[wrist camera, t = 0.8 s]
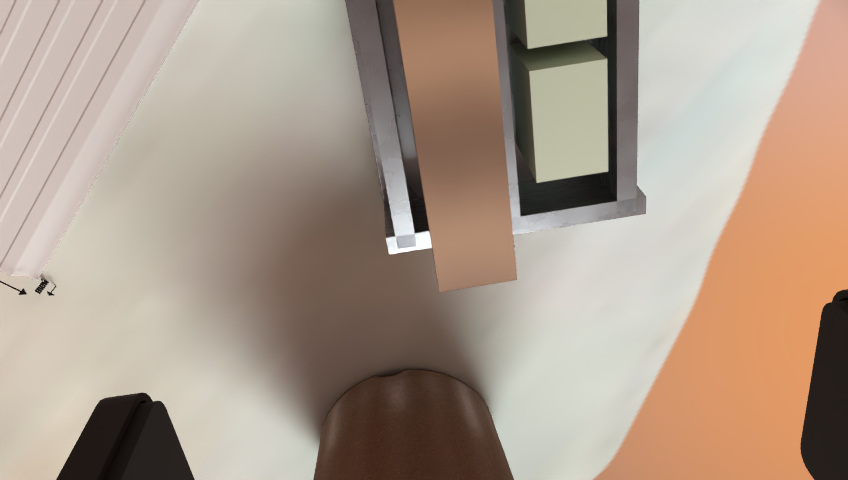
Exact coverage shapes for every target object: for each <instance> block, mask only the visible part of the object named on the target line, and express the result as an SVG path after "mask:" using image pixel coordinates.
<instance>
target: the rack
mask: <svg viewBox="0 0 848 480" xmlns="http://www.w3.org/2000/svg"><path fill="white" fill-rule="evenodd" d="M345 1H346V6H347V11H348V17H349V22H350V27H351V32H352V38H353V43H354V48H355V53H356V59H357V64H358V69H359V74H360V80H361V85H362V90H363V95H364V101H365V106H366V111H367V116H368V122H369V127H370V132H371V137H372V143H373V148H374V153H375V158H376V164H377V169H378V174H379V179H380V185H381V190H382V195H383V200H384V211H385V232H386V242H387V247H388V252H389V255H390V254H396V253H402V252H409V251H415V250H421V249H427V248H432V244H431V238H430V232H429V226H428V220H427V214H426V208H425V202H424V196H423V190H422V183H421V177H420V171H419V165H418V159H417V153H416V147H415V140H414V134H413V128H412V121H411V115H410V109H409V102H408V96H407V90H406V83H405V77H404V71H403V64H402V58H401V52H400V45H399V39H398V33H397V26H396V20H395V13H394V7H393V1H392V0H345ZM492 3H493V14H494V26H495V37H496V48H497V60H498V71H499V82H500V93H501V105H502V116H503V127H504V139H505V150H506V161H507V173H508V184H509V195H510V207H511V218H512V229H513V235H515V234H522V233H528V232H534V231H541V230H547V229H553V228H559V227H566V226H572V225H578V224H585V223H591V222H597V221H603V220H610V219H616V218H622V217H628V216H635V215H641V214H646V196H645V195H644V193H643V192H642V191H641V190H640V189H639V187H638V186H637V123H638V50H639V0H607V36H605V37H599V38H593V39H587V40H586V41H587V42H588V43H589V44H590V45H591V46H593V47H594V48H595V49H596V50H597V51H599V52H600V53H601V54H602V55H603V56H605V57H606V58H607V84H608V172H601V173H595V174H589V175H583V176H576V177H570V178H564V179H558V180H551V181H545V182H539V183H536V181H535V179H534V177H533V175H532V173H531V171H530V169H529V167H528V165H527V163H526V161H525V159H524V157H523V156H522V154H521V152H520V150H519V148H518V146H517V138H516V126H515V113H514V100H513V88H512V75H511V62H510V50H509V44H515V43H522V41H521V40H520V39H519V38H518V37H517V35H516V34H515V33H514V32H513V31H512V29H511V28H510V27H509V26H508V24H507V12H506V0H492Z"/></svg>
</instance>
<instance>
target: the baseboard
mask: <svg viewBox="0 0 848 480" xmlns="http://www.w3.org/2000/svg"><path fill="white" fill-rule="evenodd" d="M198 2H199V0H0V271H1V272H3V273H5V274H7V275H10V276H26V277H29V278H31V279H33V280H35V281H37V280H38V278H39V277H40V275H41V274H42V272H43V270H44V268H45V267H46V265H47V263H48V261H49V260H50V258H51V256H52V254H53V253H54V251H55V249H56V248H57V246H58V244H59V242H60V241H61V239H62V237H63V235H64V234H65V232H66V230H67V228H68V227H69V225H70V223H71V222H72V220H73V218H74V216H75V215H76V213H77V211H78V209H79V208H80V206H81V204H82V203H83V201H84V199H85V197H86V196H87V194H88V192H89V190H90V189H91V187H92V185H93V183H94V182H95V180H96V178H97V177H98V175H99V173H100V171H101V170H102V168H103V166H104V164H105V163H106V161H107V159H108V158H109V156H110V154H111V152H112V151H113V149H114V147H115V145H116V144H117V142H118V140H119V138H120V137H121V135H122V133H123V132H124V130H125V128H126V126H127V125H128V123H129V121H130V119H131V118H132V116H133V114H134V113H135V111H136V109H137V107H138V106H139V104H140V102H141V100H142V99H143V97H144V95H145V93H146V92H147V90H148V88H149V87H150V85H151V83H152V81H153V80H154V78H155V76H156V74H157V73H158V71H159V69H160V67H161V66H162V64H163V62H164V61H165V59H166V57H167V55H168V54H169V52H170V50H171V48H172V47H173V45H174V43H175V42H176V40H177V38H178V36H179V35H180V33H181V31H182V29H183V28H184V26H185V24H186V22H187V21H188V19H189V17H190V16H191V14H192V12H193V10H194V9H195V7H196V5H197V3H198ZM41 280H42V282H41V284H40V285H39V286H40V287H39V286H38V288H37V289H36V290H35V292H37V293H39V294H40V293H41V292H42V290H43V289H44V288H45V287H46V285H47V283H49V282H47V281H45V280H44V282H43V279H41ZM0 282H1V281H0ZM1 283H3V284H5V285H7V286H9V287H11V288H13V289H15V290H18V289H16V288H14V287H12V286H10V285H8V284H6V283H4V282H1ZM44 284H45V285H44ZM41 285H42V286H41ZM43 286H44V287H43ZM55 287H56V286H55ZM55 287H54V289H55ZM40 289H41V290H40ZM54 289H53V290H54ZM37 290H38V291H37ZM53 290H52V291H53ZM18 291H20V290H18ZM39 291H40V292H39ZM52 291H51V293H50V292H48V291H47V293H48V294H49V296H50V295H54V294H52ZM23 294H26V292H25V290H24V288H23V289H22V291H20V293H19V295H23Z"/></svg>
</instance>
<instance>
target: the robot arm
mask: <svg viewBox="0 0 848 480" xmlns="http://www.w3.org/2000/svg"><path fill="white" fill-rule="evenodd" d="M801 455H802V458H803V461H804V463H805V466H806V468H807V469H808V471H809V473H810V474H811V476H812V477H813V478H814V480H848V289H847V290H842V291H839V292H837V293H836V295H835V296H834V297H833V301H832V302H831V303H828V304H826V305H825V306H824V308H823V311H822V315H821V321H820V327H819V333H818V339H817V346H816V352H815V358H814V364H813V370H812V377H811V383H810V390H809V395H808V401H807V408H806V414H805V420H804V426H803V432H802V438H801ZM56 480H194V477H193V475H192V472H191V470H190V467H189V465H188V462H187V460H186V457H185V455H184V452H183V450H182V447H181V445H180V442H179V440H178V437H177V435H176V432H175V430H174V427H173V425H172V422H171V420H170V417H169V415H168V412H167V410H166V407H165V406H164V404H163V403H162V402H161V401H154V402H153V401H152V399H151V397H150V396H149V395H148V394H146V393H137V394H130V395H123V396H116V397H109V398H104V399H102V400H100V402H99V403H98V404H97V405H96V407H95V409H94V411H93V413H92V415H91V417H90V418H89V420H88V422H87V424H86V426H85V428H84V429H83V431H82V433H81V435H80V437H79V439H78V441H77V442H76V444H75V446H74V448H73V450H72V452H71V453H70V455H69V457H68V459H67V461H66V463H65V464H64V466H63V468H62V470H61V472H60V474H59V476H58V477H57V479H56Z"/></svg>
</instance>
